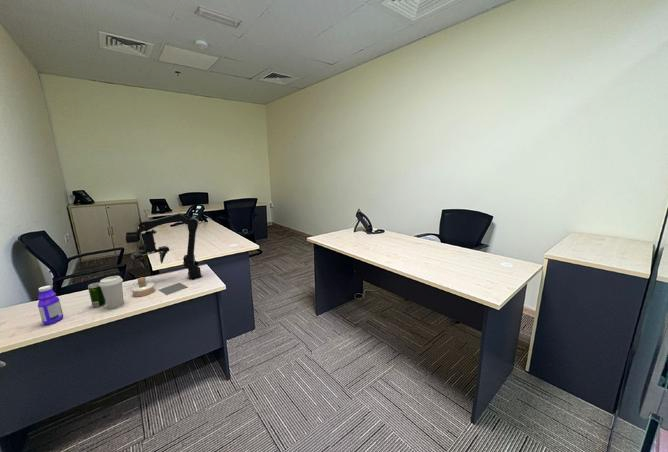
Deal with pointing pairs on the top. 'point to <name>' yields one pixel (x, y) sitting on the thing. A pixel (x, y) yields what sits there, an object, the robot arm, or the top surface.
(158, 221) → the robot arm
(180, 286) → the mat
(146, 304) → the top surface
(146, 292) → the bowl
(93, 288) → the beer can
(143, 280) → the lid
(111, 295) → the coffee cup
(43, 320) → the bottle
